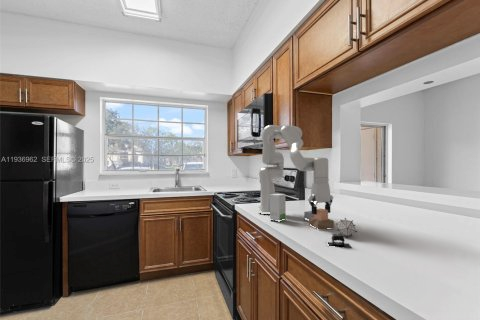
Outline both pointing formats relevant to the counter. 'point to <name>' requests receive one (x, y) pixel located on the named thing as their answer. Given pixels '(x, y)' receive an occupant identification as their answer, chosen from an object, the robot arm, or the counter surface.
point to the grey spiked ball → (346, 227)
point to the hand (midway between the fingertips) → (321, 213)
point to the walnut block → (321, 223)
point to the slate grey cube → (308, 214)
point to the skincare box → (277, 206)
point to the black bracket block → (338, 244)
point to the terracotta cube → (321, 214)
